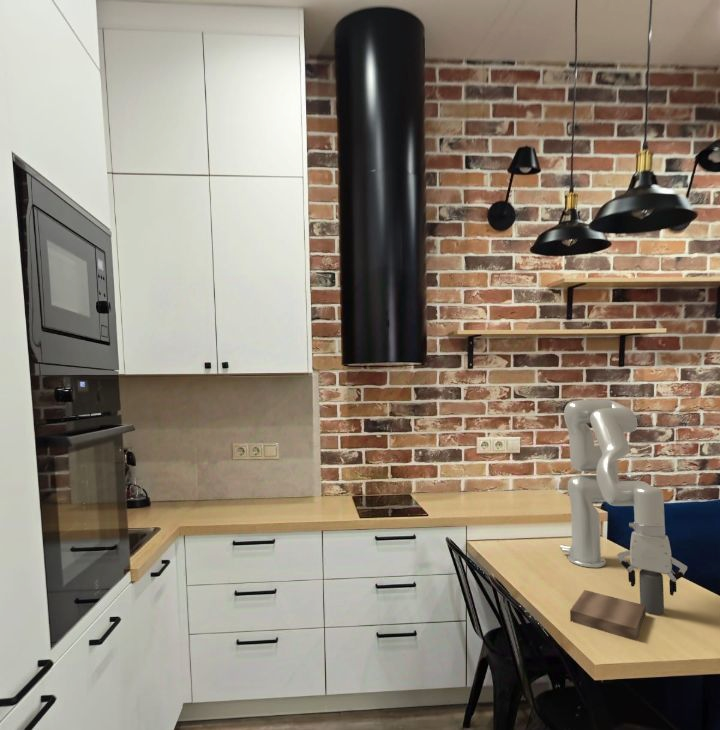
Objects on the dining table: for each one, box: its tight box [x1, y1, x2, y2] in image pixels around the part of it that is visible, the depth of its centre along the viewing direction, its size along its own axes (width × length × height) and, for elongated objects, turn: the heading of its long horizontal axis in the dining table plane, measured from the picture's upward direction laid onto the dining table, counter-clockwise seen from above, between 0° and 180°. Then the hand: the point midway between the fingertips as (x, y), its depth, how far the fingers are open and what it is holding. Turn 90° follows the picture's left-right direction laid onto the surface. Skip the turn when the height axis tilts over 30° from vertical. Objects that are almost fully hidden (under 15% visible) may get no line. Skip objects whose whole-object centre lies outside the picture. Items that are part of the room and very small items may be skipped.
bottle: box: [638, 569, 665, 616], centre depth 135 cm, size 6×6×15 cm
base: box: [569, 589, 647, 642], centre depth 131 cm, size 16×16×3 cm
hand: (652, 589), depth 135 cm, fingers open, 9 cm apart
